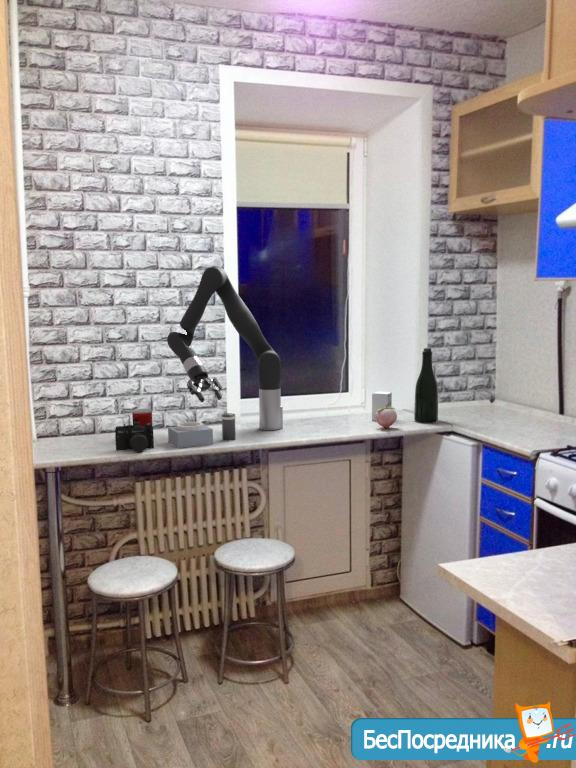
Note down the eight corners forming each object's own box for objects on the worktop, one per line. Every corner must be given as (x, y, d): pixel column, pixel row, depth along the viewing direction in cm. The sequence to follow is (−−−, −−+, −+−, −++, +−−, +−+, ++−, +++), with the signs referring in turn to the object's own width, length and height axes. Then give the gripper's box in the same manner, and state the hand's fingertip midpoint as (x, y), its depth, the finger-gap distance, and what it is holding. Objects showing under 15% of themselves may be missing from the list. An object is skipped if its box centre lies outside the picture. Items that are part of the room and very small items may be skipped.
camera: (116, 455, 243) (115, 428, 242) (115, 449, 253) (114, 422, 252) (155, 452, 247) (154, 425, 246) (153, 446, 257) (152, 420, 256)
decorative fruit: (386, 425, 294) (387, 402, 293) (400, 428, 288) (400, 405, 286) (370, 428, 289) (370, 405, 288) (383, 431, 282) (384, 407, 281)
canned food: (156, 435, 277) (155, 409, 275) (146, 439, 269) (145, 412, 268) (139, 434, 279) (138, 408, 278) (129, 438, 271) (128, 411, 270)
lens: (232, 437, 272) (232, 412, 271) (237, 439, 268) (237, 414, 266) (220, 438, 270) (219, 414, 269) (225, 441, 265) (224, 416, 264)
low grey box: (202, 438, 270) (201, 420, 269) (213, 444, 259) (212, 425, 258) (168, 442, 264) (167, 423, 263) (177, 448, 253) (177, 428, 252)
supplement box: (387, 421, 303) (387, 394, 301) (371, 420, 306) (371, 393, 304) (391, 419, 310) (392, 391, 308) (376, 418, 313) (376, 391, 311)
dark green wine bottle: (413, 419, 309) (414, 347, 305) (436, 419, 308) (437, 347, 304) (415, 423, 298) (416, 349, 294) (439, 423, 297) (440, 349, 293)
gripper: (184, 365, 275) (201, 396, 268) (212, 362, 284) (229, 392, 277) (177, 377, 279) (193, 407, 272) (205, 374, 289) (222, 403, 282)
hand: (211, 399), depth 275 cm, fingers open, 8 cm apart
